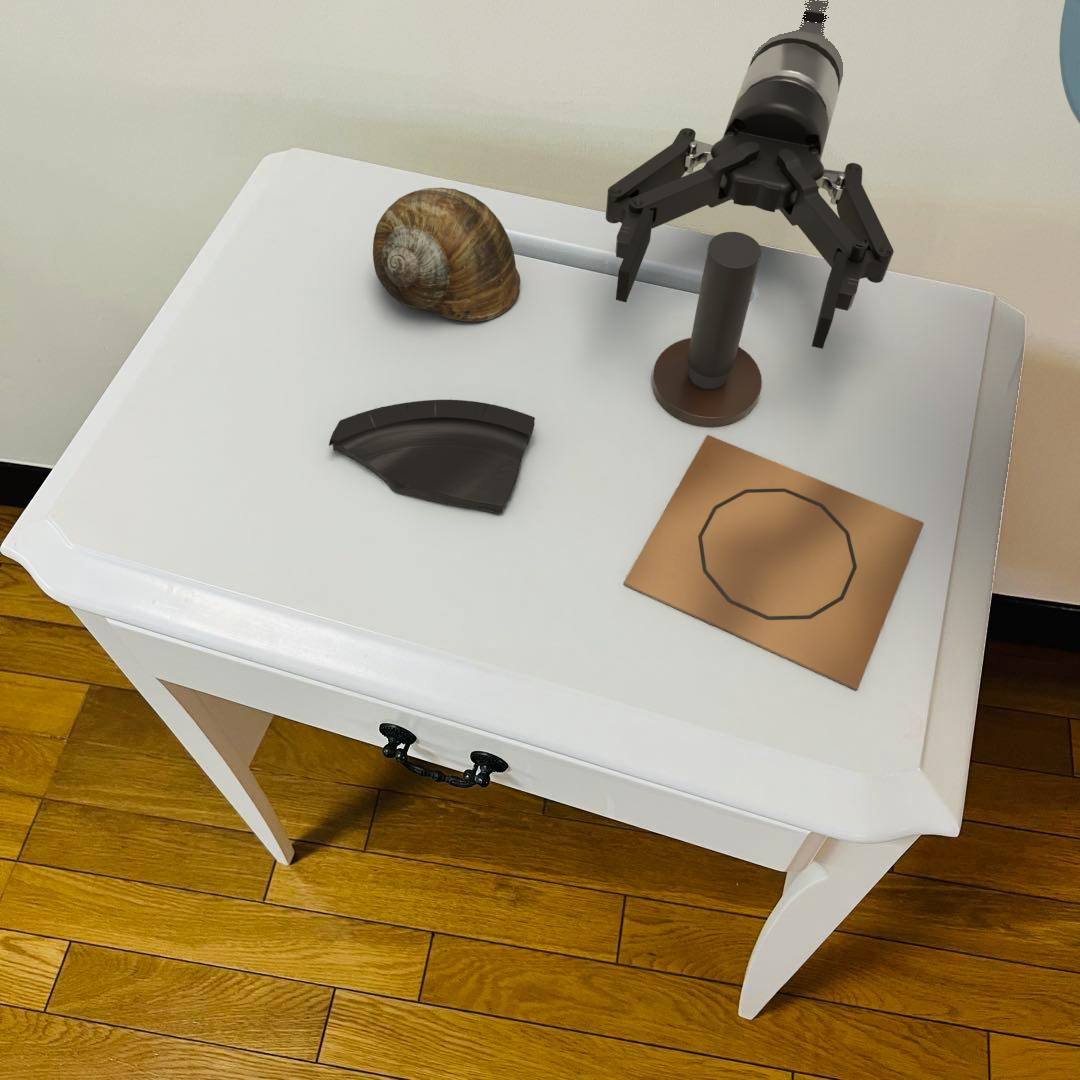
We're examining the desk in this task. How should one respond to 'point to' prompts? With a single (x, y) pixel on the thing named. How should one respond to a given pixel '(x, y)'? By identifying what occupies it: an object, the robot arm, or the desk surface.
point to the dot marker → (722, 307)
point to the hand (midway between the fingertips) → (720, 310)
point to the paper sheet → (778, 559)
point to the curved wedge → (441, 449)
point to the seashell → (446, 255)
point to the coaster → (705, 403)
